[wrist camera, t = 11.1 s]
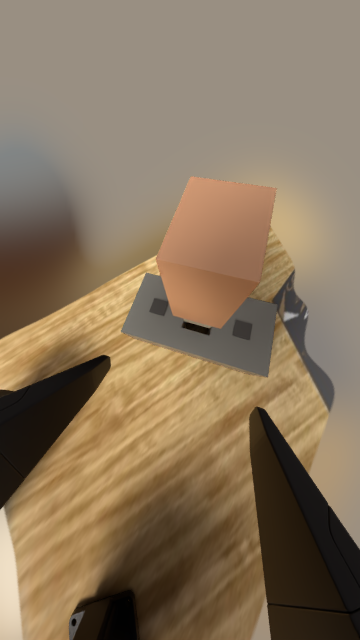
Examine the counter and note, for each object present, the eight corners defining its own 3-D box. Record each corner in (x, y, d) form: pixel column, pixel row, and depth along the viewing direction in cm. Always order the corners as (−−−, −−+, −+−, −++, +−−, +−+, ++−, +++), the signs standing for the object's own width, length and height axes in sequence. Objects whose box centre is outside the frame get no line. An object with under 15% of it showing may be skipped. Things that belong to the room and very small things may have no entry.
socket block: (249, 374, 21) (268, 377, 16) (134, 338, 23) (120, 331, 19) (259, 317, 23) (278, 303, 18) (153, 289, 26) (145, 271, 21)
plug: (212, 338, 16) (260, 282, 5) (176, 328, 16) (155, 259, 6) (222, 297, 17) (276, 188, 7) (189, 289, 18) (190, 176, 7)
